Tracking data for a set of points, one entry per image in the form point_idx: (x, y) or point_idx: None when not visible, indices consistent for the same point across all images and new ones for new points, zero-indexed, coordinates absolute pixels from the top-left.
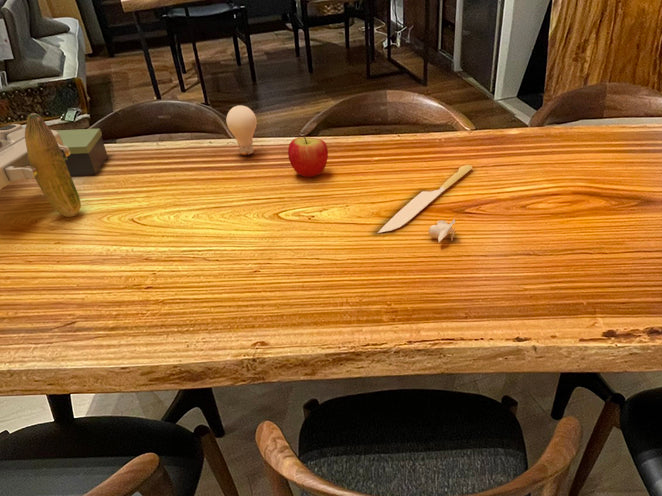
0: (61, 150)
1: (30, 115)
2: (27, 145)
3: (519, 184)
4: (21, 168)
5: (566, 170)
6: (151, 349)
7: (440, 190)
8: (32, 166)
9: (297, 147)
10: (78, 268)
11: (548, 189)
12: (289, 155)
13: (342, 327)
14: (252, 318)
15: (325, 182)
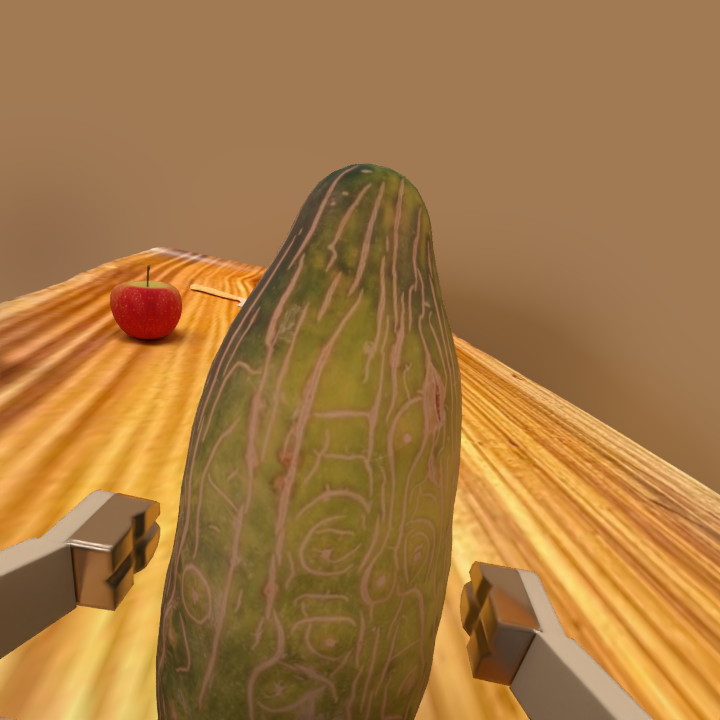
0: (149, 516)
1: (408, 181)
2: (457, 476)
3: (233, 286)
4: (567, 639)
5: (213, 275)
6: (594, 426)
7: (242, 299)
8: (487, 570)
9: (167, 290)
10: (555, 557)
11: (245, 283)
12: (156, 308)
13: (464, 351)
14: (491, 379)
15: (185, 332)
